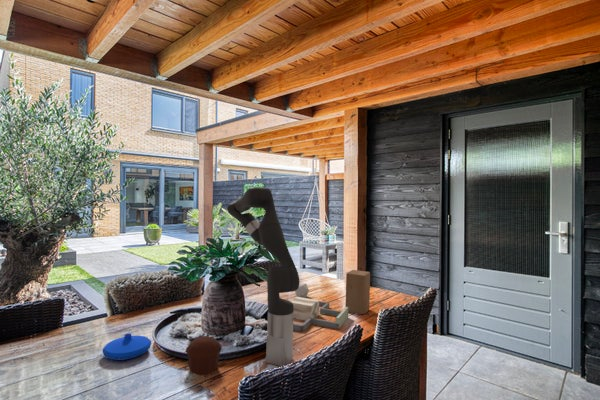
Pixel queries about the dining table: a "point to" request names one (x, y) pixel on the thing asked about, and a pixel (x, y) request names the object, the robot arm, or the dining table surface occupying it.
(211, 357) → the muffin
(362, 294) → the wooden block
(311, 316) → the ash block
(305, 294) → the die
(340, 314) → the box
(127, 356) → the blue knobbed lid
